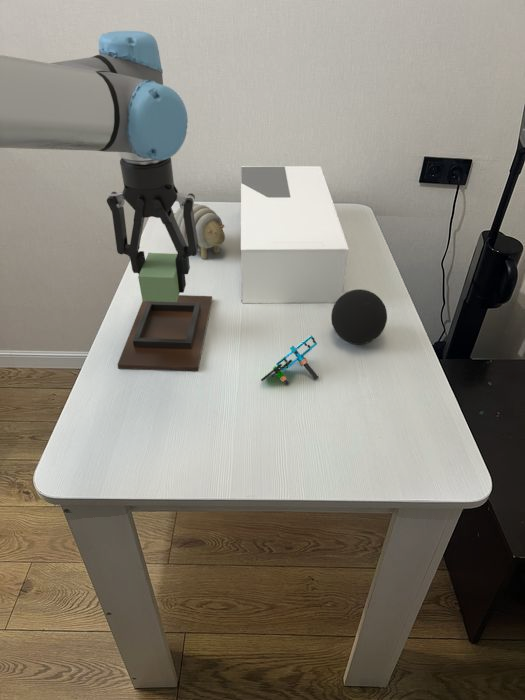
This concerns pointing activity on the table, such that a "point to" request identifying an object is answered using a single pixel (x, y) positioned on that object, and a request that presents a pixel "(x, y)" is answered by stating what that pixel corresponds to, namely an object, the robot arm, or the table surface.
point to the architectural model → (290, 237)
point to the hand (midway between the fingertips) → (163, 287)
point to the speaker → (359, 316)
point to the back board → (168, 335)
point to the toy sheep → (203, 228)
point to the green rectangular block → (159, 278)
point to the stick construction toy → (300, 359)
